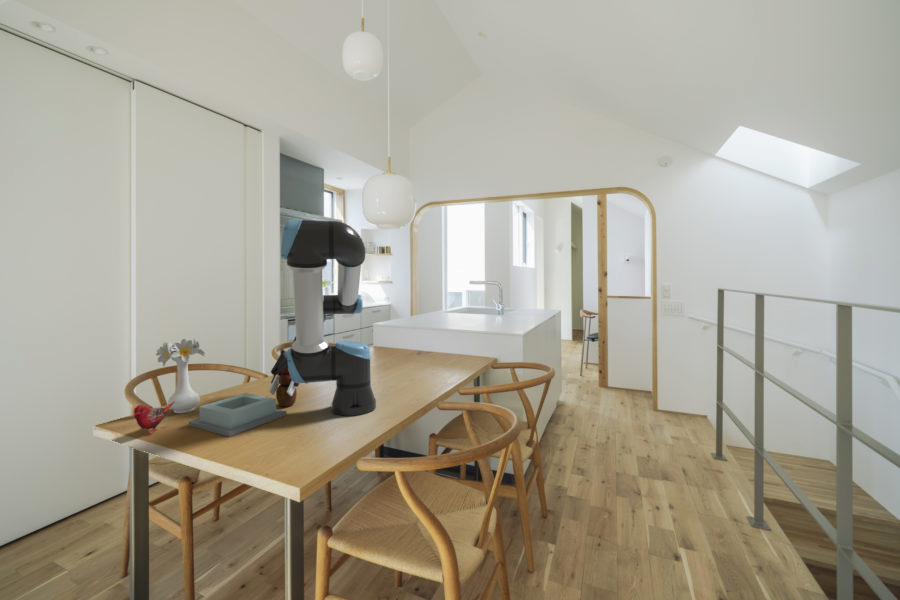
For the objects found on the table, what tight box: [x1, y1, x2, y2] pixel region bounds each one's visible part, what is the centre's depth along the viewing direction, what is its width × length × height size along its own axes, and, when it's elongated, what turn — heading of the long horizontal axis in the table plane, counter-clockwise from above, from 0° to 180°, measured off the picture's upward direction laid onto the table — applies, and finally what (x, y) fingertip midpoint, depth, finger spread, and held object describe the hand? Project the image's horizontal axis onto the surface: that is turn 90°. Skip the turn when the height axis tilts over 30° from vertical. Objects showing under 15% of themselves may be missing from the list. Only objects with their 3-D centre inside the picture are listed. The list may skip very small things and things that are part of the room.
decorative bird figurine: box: [133, 402, 174, 437], centre depth 118 cm, size 3×18×10 cm, turn 4°
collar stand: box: [188, 392, 287, 438], centre depth 127 cm, size 20×20×6 cm
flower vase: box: [155, 338, 206, 414], centre depth 135 cm, size 13×18×25 cm
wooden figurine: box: [275, 365, 298, 408], centre depth 141 cm, size 7×6×15 cm
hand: (280, 393), depth 137 cm, fingers closed on wooden figurine, 6 cm apart
